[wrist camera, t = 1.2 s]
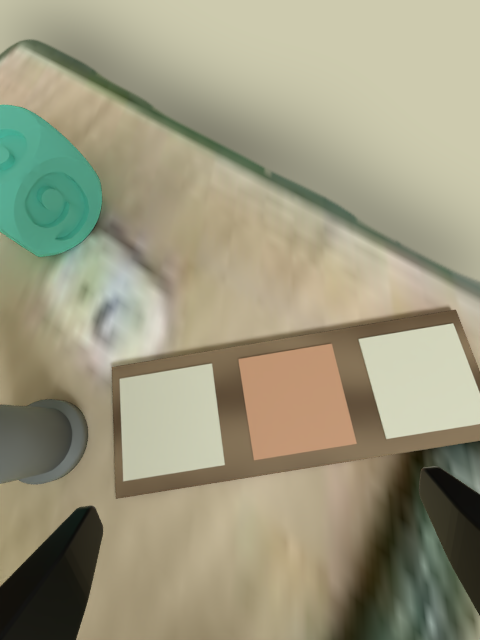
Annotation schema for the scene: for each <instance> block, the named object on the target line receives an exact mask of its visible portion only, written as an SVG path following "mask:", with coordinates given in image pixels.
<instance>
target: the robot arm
mask: <svg viewBox="0 0 480 640" xmlns="http://www.w3.org/2000/svg"><path fill="white" fill-rule="evenodd" d="M419 494H420V497H421V500H422V502H423V504H424V507H425V509H426V511H427V513H428V515H429V518H430V520H431V522H432V524H433V526H434V529H435V531H436V533H437V535H438V538H439V540H440V542H441V544H442V546H443V549H444V551H445V553H446V555H447V557H448V559H449V561H450V563H451V565H452V567H453V569H454V571H455V573H456V574H457V576H458V578H459V580H460V581H461V583H462V585H463V587H464V589H465V590H466V592H467V594H468V596H469V597H470V599H471V601H472V603H473V605H474V606H475V608H476V610H477V612H478V613H479V615H480V494H478V493H477V492H475V491H474V490H473V489H471V488H470V487H468V486H467V485H465V484H464V483H462V482H461V481H459V480H458V479H456V478H455V477H453V476H452V475H450V474H449V473H447V472H446V471H444V470H443V469H441V468H440V467H437V466H434V467H425V468H422V470H421V474H420V484H419ZM102 536H103V525H102V523H101V520H100V518H99V515H98V513H97V511H96V509H95V507H94V506H85V507H79V508H78V509H76V510H75V511H74V512H73V513H72V514H71V515H70V516H69V517H68V518H67V519H66V520H65V521H64V522H63V523H62V524H61V525H60V526H59V527H58V528H57V529H56V530H55V531H54V532H53V533H52V534H51V535H50V536H49V538H48V539H47V540H46V541H45V542H44V543H43V544H42V545H41V546H40V547H39V548H38V549H37V550H36V551H35V552H34V553H33V554H32V555H31V556H30V557H29V558H28V559H27V560H26V561H25V562H24V563H23V564H22V565H21V566H20V567H19V568H18V569H17V570H16V571H15V572H14V573H13V574H12V575H11V576H10V577H9V578H8V579H7V580H6V581H5V582H4V583H3V584H2V585H1V586H0V640H76V638H77V634H78V631H79V628H80V625H81V622H82V618H83V615H84V612H85V609H86V605H87V602H88V598H89V594H90V590H91V585H92V581H93V576H94V572H95V567H96V563H97V558H98V554H99V549H100V545H101V540H102Z"/></svg>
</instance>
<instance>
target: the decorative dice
mask: <svg viewBox="0 0 480 640" xmlns="http://www.w3.org/2000/svg"><path fill="white" fill-rule="evenodd" d="M101 205H102V190H101V183H100V180H99V178H98V176H97V174H96V172H95V171H94V169H93V168H92V167H91V165H90V164H89V163H88V161H87V160H86V159H85V158H84V157H83V155H82V154H81V153H80V152H79V151H78V150H77V149H76V148H75V147H74V146H73V145H72V144H71V143H70V142H69V141H68V140H67V139H66V138H65V137H64V136H63V135H62V134H61V133H60V132H58V131H57V130H56V129H55V128H54V127H53V126H51V125H50V124H49V123H48V122H46V121H45V120H44V119H42V118H41V117H39V116H38V115H36V114H35V113H33V112H31V111H29V110H27V109H25V108H22V107H17V106H12V105H0V232H1V233H3V234H4V235H6V236H7V237H9V238H10V239H12V240H13V241H15V242H16V243H18V244H19V245H21V246H22V247H24V248H25V249H27V250H28V251H30V252H31V253H33V254H35V255H36V256H38V257H44V256H51V255H56V254H59V253H62V252H65V251H67V250H69V249H71V248H73V247H75V246H76V245H78V244H79V243H81V242H82V241H83V240H84V239H85V238H86V237H87V236H88V235H89V234H90V232H91V231H92V230H93V228H94V226H95V225H96V223H97V220H98V218H99V215H100V211H101Z"/></svg>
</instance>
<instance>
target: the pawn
mask: <svg viewBox="0 0 480 640" xmlns="http://www.w3.org/2000/svg"><path fill="white" fill-rule="evenodd" d="M87 441H88V427H87V423H86V420H85V417H84V415H83V414H82V412H81V411H80V410H79V409H78V408H77V407H76V406H75V405H73V404H71V403H69V402H66V401H61V400H52V399H46V400H40V401H37V402H34V403H32V404H30V405H28V406H14V405H0V484H1V483H6V482H10V481H14V480H19V481H21V482H24V483H27V484H43V483H46V482H50V481H53V480H57V479H59V478H61V477H63V476H65V475H66V474H68V473H69V472H70V471H71V470H72V469H73V468H74V467H75V466H76V465H77V464H78V462H79V461H80V459H81V458H82V456H83V454H84V451H85V449H86V445H87Z"/></svg>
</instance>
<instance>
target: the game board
mask: <svg viewBox="0 0 480 640" xmlns="http://www.w3.org/2000/svg"><path fill="white" fill-rule="evenodd" d="M112 388H113V422H114V455H115V489H116V499H117V498H123V497H130V496H136V495H142V494H148V493H155V492H161V491H167V490H173V489H180V488H186V487H192V486H198V485H205V484H211V483H217V482H223V481H230V480H236V479H242V478H248V477H255V476H261V475H267V474H273V473H280V472H286V471H292V470H299V469H305V468H311V467H317V466H324V465H330V464H336V463H342V462H349V461H355V460H361V459H367V458H374V457H380V456H386V455H392V454H399V453H405V452H411V451H417V450H424V449H430V448H436V447H442V446H449V445H455V444H461V443H467V442H474V441H480V371H479V368H478V366H477V363H476V361H475V358H474V355H473V353H472V350H471V348H470V345H469V343H468V340H467V337H466V335H465V332H464V330H463V327H462V325H461V322H460V319H459V317H458V314H457V312H456V310H451V311H445V312H439V313H433V314H427V315H421V316H415V317H409V318H403V319H397V320H391V321H385V322H379V323H373V324H367V325H361V326H355V327H349V328H343V329H337V330H332V331H326V332H320V333H314V334H308V335H302V336H296V337H290V338H284V339H278V340H272V341H266V342H260V343H254V344H248V345H242V346H236V347H230V348H224V349H218V350H212V351H206V352H200V353H194V354H188V355H182V356H176V357H170V358H164V359H158V360H152V361H146V362H140V363H134V364H128V365H122V366H116V367H112Z"/></svg>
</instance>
